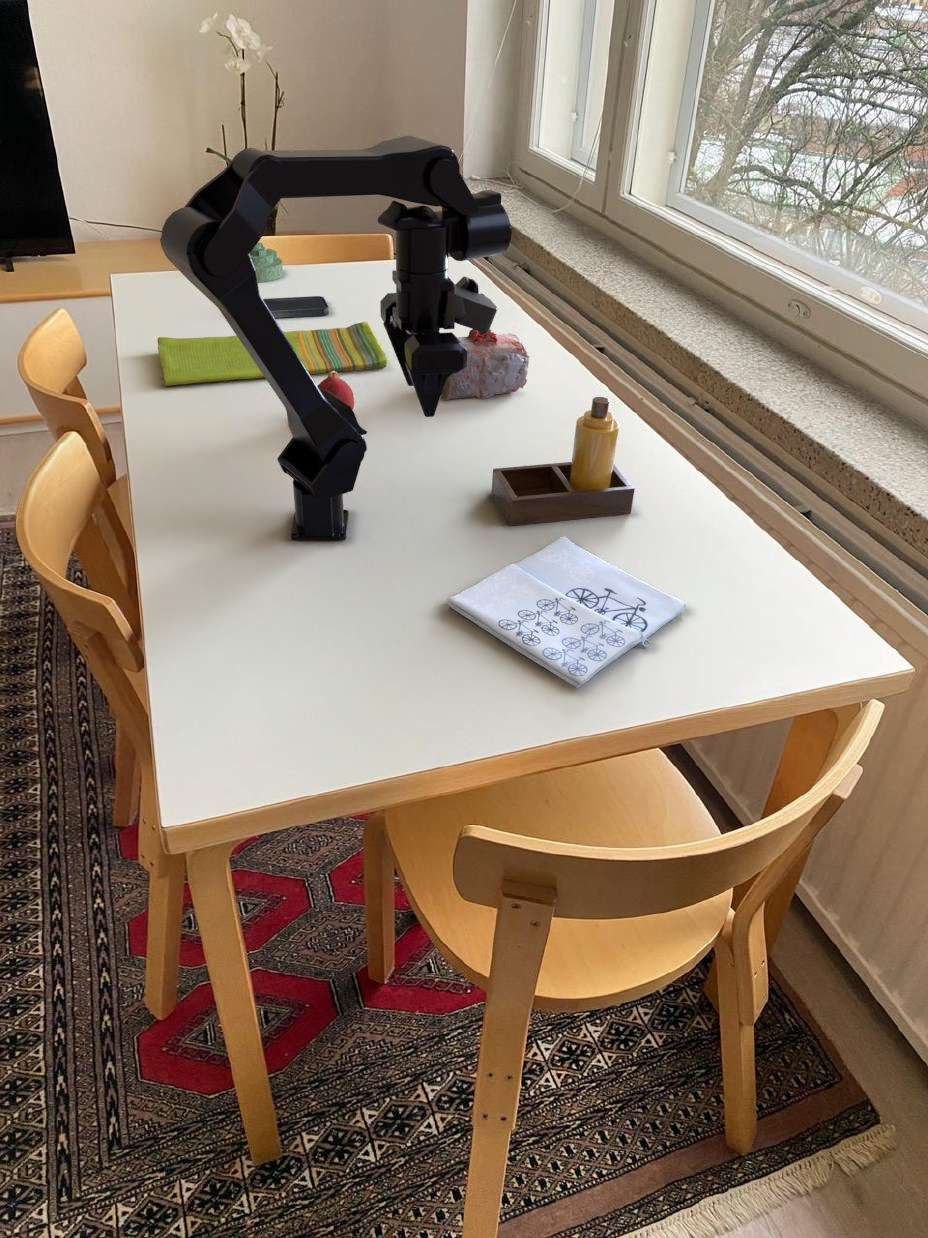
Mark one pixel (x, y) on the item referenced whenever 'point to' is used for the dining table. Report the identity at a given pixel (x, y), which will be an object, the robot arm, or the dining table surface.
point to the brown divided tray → (556, 495)
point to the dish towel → (232, 361)
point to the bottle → (594, 448)
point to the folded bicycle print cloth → (567, 610)
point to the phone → (297, 306)
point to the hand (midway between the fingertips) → (420, 400)
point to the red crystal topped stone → (489, 366)
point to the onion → (337, 388)
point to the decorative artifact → (266, 263)
